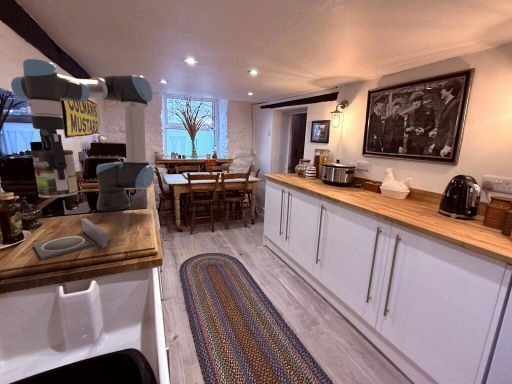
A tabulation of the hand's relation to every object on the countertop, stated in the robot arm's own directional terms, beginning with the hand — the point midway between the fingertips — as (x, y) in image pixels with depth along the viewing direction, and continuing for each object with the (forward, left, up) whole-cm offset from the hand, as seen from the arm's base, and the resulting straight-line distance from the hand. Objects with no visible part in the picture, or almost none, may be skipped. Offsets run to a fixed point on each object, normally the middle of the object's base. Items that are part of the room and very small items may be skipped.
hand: (58, 187), depth 81 cm
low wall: (0, +8, -20) cm, 22 cm away
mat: (0, -1, -20) cm, 20 cm away
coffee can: (0, 0, -2) cm, 2 cm away
